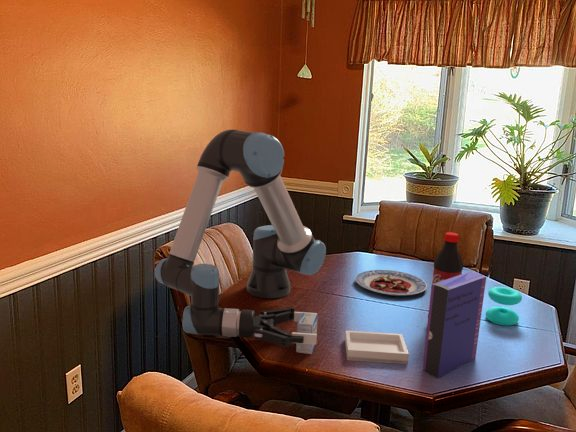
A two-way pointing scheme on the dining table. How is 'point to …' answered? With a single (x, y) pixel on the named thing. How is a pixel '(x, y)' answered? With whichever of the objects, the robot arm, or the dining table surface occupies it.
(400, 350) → the tray
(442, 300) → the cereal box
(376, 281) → the ceramic plate
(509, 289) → the donuts
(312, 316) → the medicine box
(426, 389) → the dining table surface
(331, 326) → the dining table surface
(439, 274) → the cola bottle
